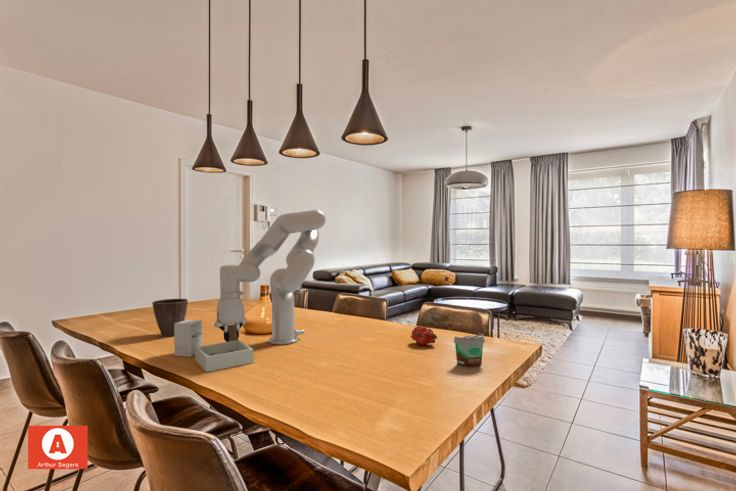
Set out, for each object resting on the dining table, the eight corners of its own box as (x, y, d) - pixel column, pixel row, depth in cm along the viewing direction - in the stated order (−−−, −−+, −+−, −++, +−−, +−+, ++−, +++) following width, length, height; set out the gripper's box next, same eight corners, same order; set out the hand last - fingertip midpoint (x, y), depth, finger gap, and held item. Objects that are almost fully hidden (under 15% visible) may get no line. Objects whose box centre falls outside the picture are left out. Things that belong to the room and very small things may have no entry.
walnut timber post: (234, 346, 158) (233, 324, 158) (237, 348, 155) (236, 325, 155) (226, 347, 157) (225, 325, 157) (229, 349, 153) (228, 326, 153)
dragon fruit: (411, 345, 165) (435, 354, 157) (403, 337, 159) (428, 346, 151) (419, 327, 168) (443, 335, 160) (412, 319, 162) (436, 327, 154)
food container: (465, 370, 128) (465, 340, 128) (453, 365, 133) (453, 336, 133) (493, 364, 134) (492, 336, 134) (480, 359, 139) (480, 332, 139)
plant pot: (149, 334, 181) (148, 300, 181) (182, 329, 191) (182, 297, 191) (157, 340, 170) (157, 304, 170) (193, 334, 180) (192, 300, 180)
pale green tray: (238, 352, 151) (238, 339, 151) (253, 362, 138) (253, 349, 138) (195, 360, 141) (195, 346, 141) (206, 372, 128) (206, 357, 128)
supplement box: (191, 356, 146) (190, 323, 146) (173, 355, 147) (173, 323, 147) (203, 351, 153) (202, 319, 153) (186, 350, 154) (186, 319, 154)
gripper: (247, 292, 163) (248, 335, 164) (206, 296, 154) (208, 342, 154) (253, 294, 157) (254, 339, 158) (211, 298, 148) (213, 346, 148)
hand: (231, 340), depth 156 cm, fingers closed on walnut timber post, 2 cm apart
